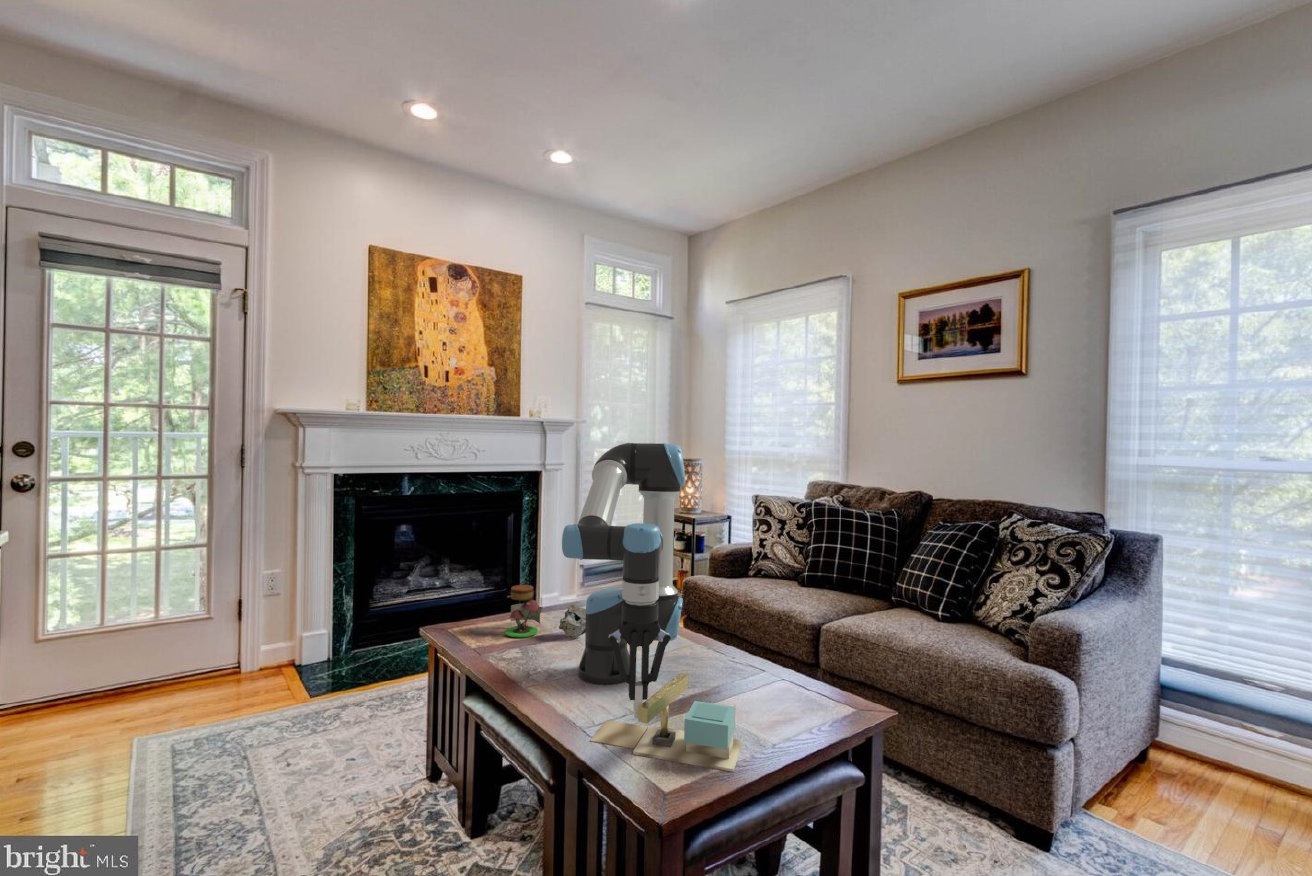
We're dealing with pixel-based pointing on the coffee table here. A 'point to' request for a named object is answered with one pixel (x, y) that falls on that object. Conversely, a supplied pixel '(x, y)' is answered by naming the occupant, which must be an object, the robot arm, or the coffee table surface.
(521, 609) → the mushroom figurine
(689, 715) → the cover
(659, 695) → the t key
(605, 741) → the pad
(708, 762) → the housing
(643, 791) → the coffee table surface
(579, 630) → the mineral specimen
